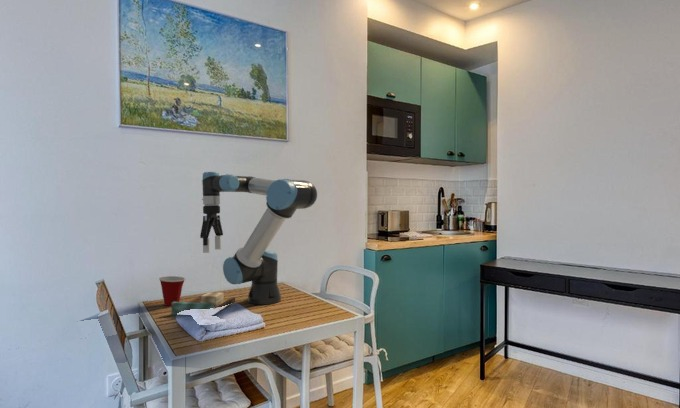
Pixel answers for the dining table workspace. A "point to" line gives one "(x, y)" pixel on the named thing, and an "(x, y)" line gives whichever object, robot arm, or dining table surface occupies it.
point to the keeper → (213, 298)
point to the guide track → (196, 305)
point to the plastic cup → (171, 289)
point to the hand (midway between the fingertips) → (212, 251)
